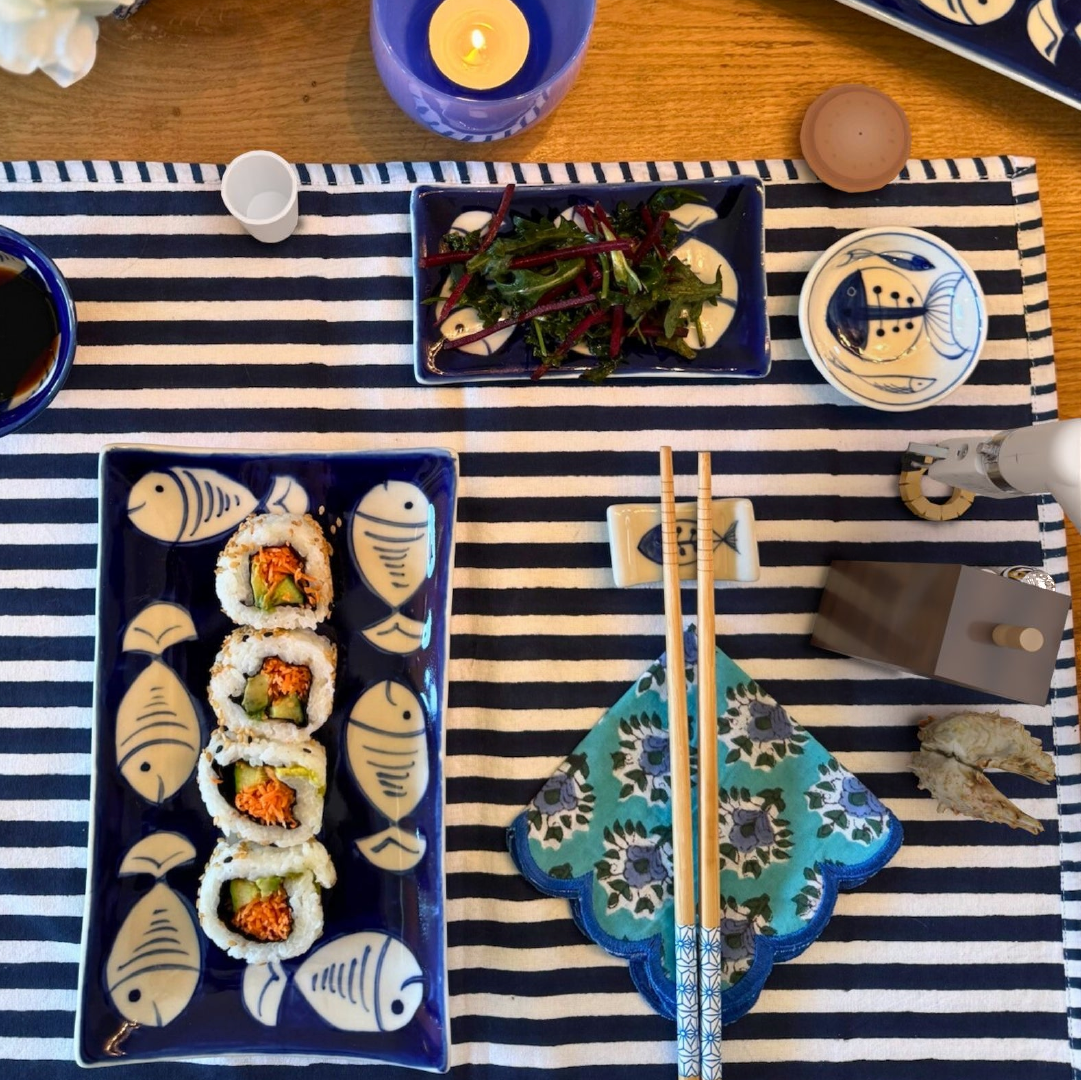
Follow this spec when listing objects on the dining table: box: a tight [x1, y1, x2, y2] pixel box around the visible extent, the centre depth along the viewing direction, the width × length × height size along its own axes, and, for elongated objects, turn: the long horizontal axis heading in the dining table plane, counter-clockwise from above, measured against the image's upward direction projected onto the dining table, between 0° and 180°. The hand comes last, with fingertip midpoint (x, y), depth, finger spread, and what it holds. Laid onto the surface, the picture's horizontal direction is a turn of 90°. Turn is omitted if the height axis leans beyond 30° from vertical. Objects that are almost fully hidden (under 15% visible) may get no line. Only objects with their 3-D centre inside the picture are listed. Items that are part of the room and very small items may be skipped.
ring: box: [898, 457, 976, 522], centre depth 144 cm, size 10×10×2 cm
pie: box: [798, 83, 913, 194], centre depth 146 cm, size 15×16×5 cm
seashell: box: [906, 708, 1057, 835], centre depth 134 cm, size 18×18×15 cm
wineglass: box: [980, 564, 1057, 592], centre depth 138 cm, size 6×6×12 cm
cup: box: [220, 149, 299, 244], centre depth 141 cm, size 10×10×13 cm
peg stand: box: [809, 559, 1073, 708], centre depth 124 cm, size 12×12×39 cm
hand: (942, 470), depth 135 cm, fingers open, 9 cm apart
